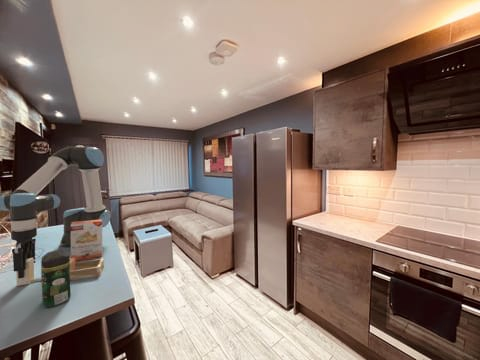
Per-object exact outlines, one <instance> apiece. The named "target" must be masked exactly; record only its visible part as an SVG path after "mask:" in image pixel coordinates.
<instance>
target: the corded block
mask: <svg viewBox="0 0 480 360" xmlns="http://www.w3.org/2000/svg"><path fill="white" fill-rule="evenodd" d="M34 261H35V260H34V258H27V259H26V269H27V284H24V285H23V286H26V285H30V284H31V283H33V282H36V281H42V279H41V277H37V278H35V263H34ZM75 262H76V261H75V258H71V257H70V271H72V270H75ZM15 272H16V275H15V276H16V287H19V286H21V285H18V276H17V271H15Z"/></svg>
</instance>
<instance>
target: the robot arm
mask: <svg viewBox="0 0 480 360" xmlns="http://www.w3.org/2000/svg"><path fill="white" fill-rule="evenodd" d="M104 162H105V155H104V154H103V152H102V151H101V149H100V148H97V147H94V146H93V147H92V146H67V147H64V148H62V149H59V150H58V151H56V152H55V153H53V154H52V155H51V156H49V157H48V159H47V161H46V162H45V163H44V164H43V165H42V166H41V167H40V168H39V169H38V170H37V171H35V173H33V174H32V175H31V176H30V177H28V179H26V180H25V181H24V182H23V183H22V184H21V185H19V187H17V188H15V190H14V191H13V192H12V193H10V194H3V195H0V211H7V212H8V211H9V212H10V222H9V225H10V230H11V231H10V238H11V239H10V240H12V241H16V243H15V248H12V249H11V254H12V263H13V272H16V271H17V276H18V285H20V286H25V285H24V284H26V285H28V284H27V269H26V259H27V258H34V264H35V263H36V240H37V239H36V238H35V237H36V236H38V233H37V232H38V231H37V225H38V223H37V222H38V221H37V214H38V213H41V212H46V211H51V210H54V209H57V208H58V207H60V204H61V198H60V197H59V196H58V195H57V194H53V193H52V194H51V193H50V194H48V193H47V194H39V193H40V192H42V190H43V189H44V188H45V187H47V186H48V184H50V183H51V182H52V181H53V180H54V179H55V178H56V177H57V176H58V175H59V174H60V173H61V171H63V170H67V168H68V167H71V166H77V169H78V170H79V171H80V172H81V177H82V182H83V189H84V196H85V203H86V207H79V208H78V207H77V208H72V209H67V210H65V211H64V212H63V217H62V219H63V222H62V223H63V235H62V237H61V240H60V241H59V243H60V245H59V246H60V247H64V248H68V247H69V248H71V223H72V222H78V221H89V220H100V219H102V229H103V228H105V227H107V226H108V224H109V223H110V221H111V217H112V214H111V211H110V210H109V209H107V207H106V206H105V205H104V204H103V196H102V190H101V189H102V188H101V181H100V173H99V170H101V168H102V166H103V165H104Z"/></svg>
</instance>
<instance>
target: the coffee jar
mask: <svg viewBox="0 0 480 360" xmlns="http://www.w3.org/2000/svg"><path fill="white" fill-rule="evenodd" d="M70 258H71V254H69V252H68V251H66V250H62V249H57V250H53V251H49V252H47V253H45V254H44V255H43V256H42V257H41V263H40V264H41V270H40V271H41V272H40V273H41V277H40V278H41V279H42V280H41V292H42V293H41V298H42V304H43V306H44V307H45V308H51V307H58V306H60V305H61V304H64V303H66V302H67V301H69V300H70V299H71V295H72V293H71V280H70Z"/></svg>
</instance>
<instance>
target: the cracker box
mask: <svg viewBox="0 0 480 360" xmlns="http://www.w3.org/2000/svg"><path fill="white" fill-rule="evenodd" d="M101 256H102V257H103V228H102V219H100V220H89V221H78V222H72V223H71V247H70V258H75V262H80V261H85V260H91V259H95V258H101Z"/></svg>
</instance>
